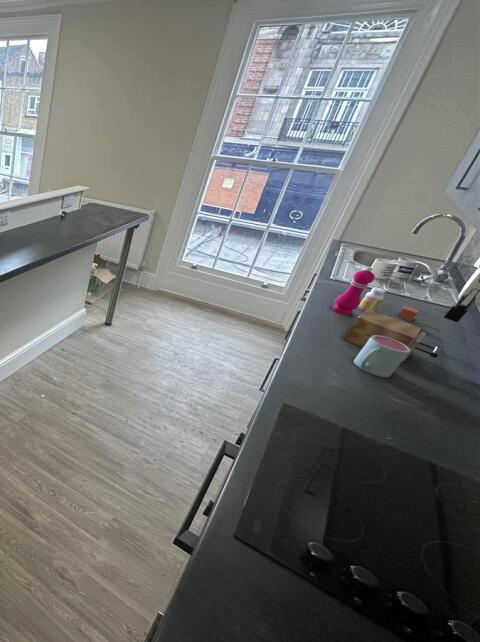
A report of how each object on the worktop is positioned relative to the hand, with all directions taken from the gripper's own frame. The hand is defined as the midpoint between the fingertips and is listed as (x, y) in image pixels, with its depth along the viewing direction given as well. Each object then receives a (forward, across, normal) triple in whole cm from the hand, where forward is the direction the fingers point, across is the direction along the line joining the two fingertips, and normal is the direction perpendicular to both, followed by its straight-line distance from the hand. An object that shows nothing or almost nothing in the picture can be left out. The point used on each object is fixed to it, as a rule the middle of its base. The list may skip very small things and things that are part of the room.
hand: (451, 319), depth 125 cm
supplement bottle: (+17, +36, +21) cm, 45 cm away
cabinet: (+17, 0, +11) cm, 20 cm away
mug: (+17, -23, +8) cm, 30 cm away
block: (+17, +43, +10) cm, 47 cm away
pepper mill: (+17, +22, +26) cm, 39 cm away
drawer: (+16, 0, +6) cm, 17 cm away
